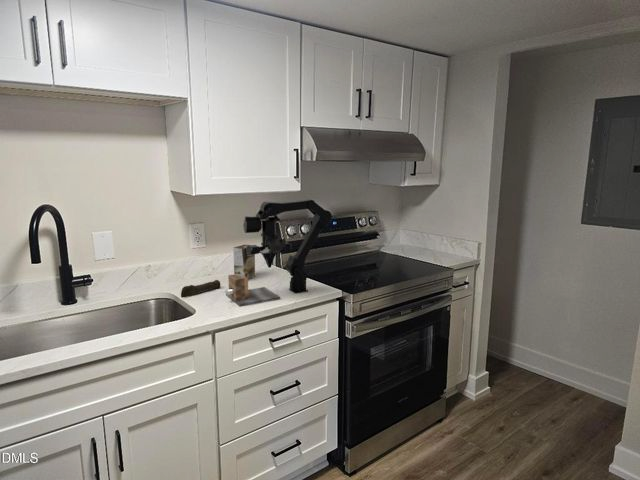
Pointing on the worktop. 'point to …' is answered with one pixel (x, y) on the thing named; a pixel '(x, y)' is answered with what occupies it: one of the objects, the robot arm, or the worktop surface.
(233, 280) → the wooden block on baseplate
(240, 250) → the coffee box
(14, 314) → the worktop surface
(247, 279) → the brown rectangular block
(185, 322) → the worktop surface
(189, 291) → the dark brown rounded bar
